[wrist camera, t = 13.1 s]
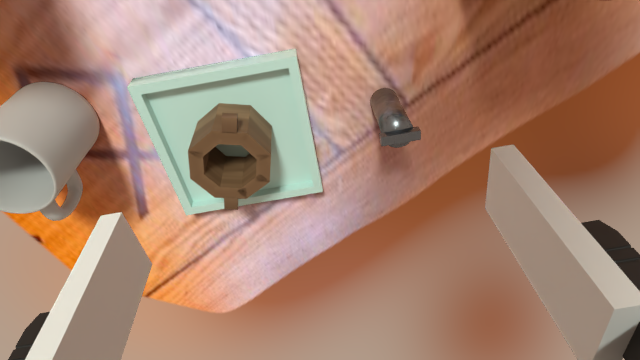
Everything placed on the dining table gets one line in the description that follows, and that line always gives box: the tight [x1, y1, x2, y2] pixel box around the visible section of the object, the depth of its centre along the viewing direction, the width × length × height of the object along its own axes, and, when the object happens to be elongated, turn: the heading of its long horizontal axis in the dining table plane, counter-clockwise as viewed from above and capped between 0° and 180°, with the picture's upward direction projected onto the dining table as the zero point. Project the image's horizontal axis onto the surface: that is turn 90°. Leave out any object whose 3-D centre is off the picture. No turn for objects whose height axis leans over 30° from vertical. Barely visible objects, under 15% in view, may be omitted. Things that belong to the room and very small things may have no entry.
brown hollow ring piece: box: [188, 103, 272, 209], centre depth 44 cm, size 11×8×6 cm
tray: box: [127, 49, 323, 215], centre depth 47 cm, size 17×17×2 cm
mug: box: [0, 82, 100, 221], centre depth 42 cm, size 12×8×11 cm
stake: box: [370, 88, 421, 148], centre depth 43 cm, size 3×4×8 cm
